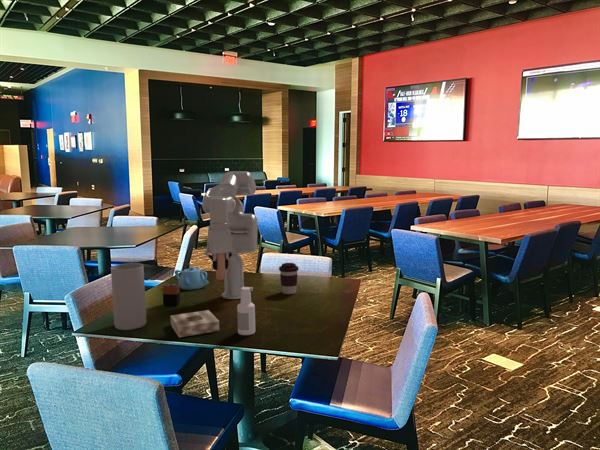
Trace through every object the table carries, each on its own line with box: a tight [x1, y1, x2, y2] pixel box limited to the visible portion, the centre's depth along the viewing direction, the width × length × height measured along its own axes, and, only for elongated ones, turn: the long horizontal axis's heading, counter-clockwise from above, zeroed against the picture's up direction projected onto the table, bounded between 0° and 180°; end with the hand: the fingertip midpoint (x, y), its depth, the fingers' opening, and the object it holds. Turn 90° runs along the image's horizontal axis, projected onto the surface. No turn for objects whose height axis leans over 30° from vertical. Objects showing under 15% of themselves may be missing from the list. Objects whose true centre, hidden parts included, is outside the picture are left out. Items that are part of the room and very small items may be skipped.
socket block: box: [170, 309, 220, 338], centre depth 193 cm, size 16×16×4 cm
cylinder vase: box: [110, 262, 147, 331], centre depth 195 cm, size 12×12×25 cm
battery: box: [162, 283, 181, 307], centre depth 225 cm, size 4×7×10 cm, turn 81°
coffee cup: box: [278, 262, 299, 295], centre depth 243 cm, size 10×10×15 cm
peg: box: [215, 252, 226, 281], centre depth 204 cm, size 4×4×12 cm
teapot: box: [174, 265, 210, 291], centre depth 257 cm, size 15×17×11 cm
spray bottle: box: [236, 286, 256, 336], centre depth 186 cm, size 7×7×18 cm
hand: (220, 268), depth 204 cm, fingers closed on peg, 4 cm apart
